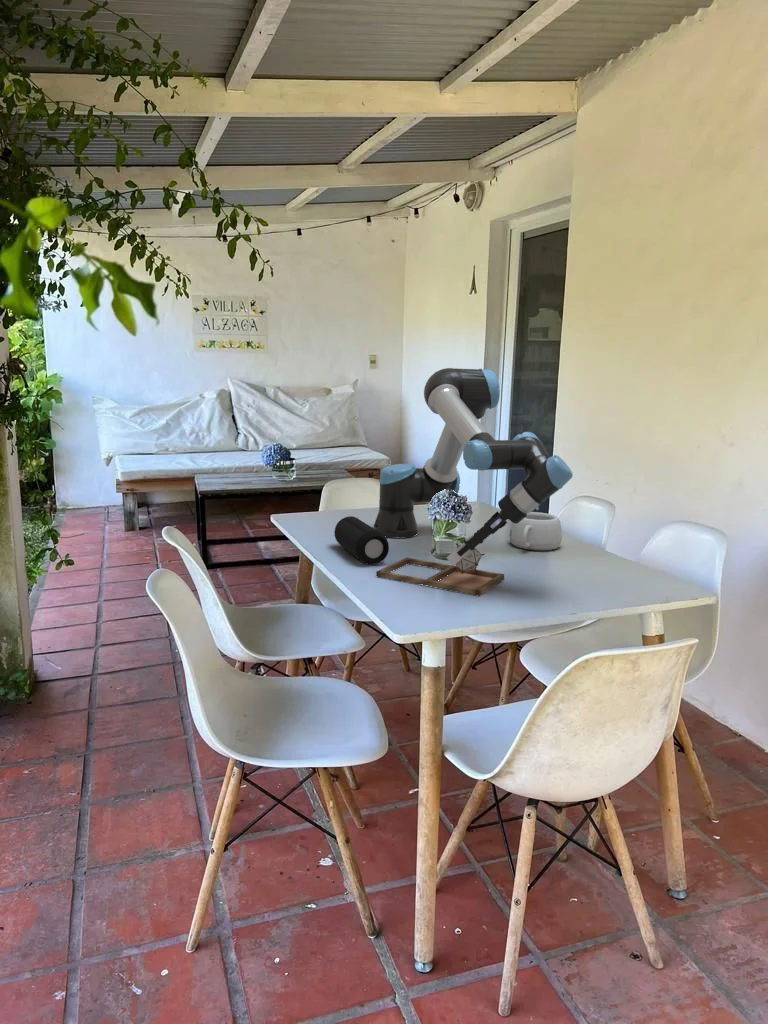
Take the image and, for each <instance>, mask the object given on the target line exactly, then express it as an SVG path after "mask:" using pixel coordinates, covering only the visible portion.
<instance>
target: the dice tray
mask: <svg viewBox="0 0 768 1024" xmlns="http://www.w3.org/2000/svg"><path fill="white" fill-rule="evenodd" d="M408 563H409V564H408ZM406 564H407V565H411V564H415V565H414V566H417V565H421V566H420V567H422V566H427V567H426V568H428V567H432V568H431V569H434V568H437V569H436V570H439V569H441V571H440V570H439V571H438V572H436V573H435V574H433V575H431V576H429V577H428V578H421V577H415V576H411V575H410V576H409V575H406V574H400V573H394V571H393V570H395V571H397V570H398V568H399V569H401V568H403V567H405V566H407V565H406ZM404 565H405V566H404ZM402 566H403V567H402ZM400 567H401V568H400ZM396 569H397V570H396ZM476 570H477V572H475V570H470V571H464V572H463V574H461V573H462V571H461V570H460V569H459V568H458V567H457V566H456V565H452V564H447V563H446V564H445V563H441V562H435V561H429V560H424V559H419V558H418V559H417V558H410V557H404V558H402V559H400V560H398V561H395V562H394V563H391V564H390V565H387V566H386V567H382V568H381V569H379V570H376V573H375V577H376V576H378V577H377V578H380V577H384V578H383V579H385V578H388V579H387V580H391V579H393V580H392V581H396V580H398V581H397V582H401V581H403V582H402V583H406V582H409V583H408V584H412V583H415V584H414V585H417V584H423V585H428V586H432V587H431V588H433V587H437V588H436V589H438V588H442V589H441V590H443V589H447V590H446V591H449V590H452V591H451V592H454V591H457V592H456V593H459V592H462V593H461V594H465V593H467V594H466V595H470V594H473V595H472V596H475V595H478V596H477V597H481V596H483V595H484V594H486V593H487V592H488V591H490V590H491V589H492V588H494V587H495V586H497V585H499V584H500V583H501V582H502V581H504V580H505V574H504V573H499V572H494V571H487V570H482V569H477V568H476ZM391 571H393V572H391ZM447 575H448V576H447ZM440 579H441V580H440ZM438 580H439V581H438ZM428 586H427V587H428ZM489 589H490V590H489ZM486 591H487V592H486ZM483 593H484V594H483ZM480 595H481V596H480Z"/></svg>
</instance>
